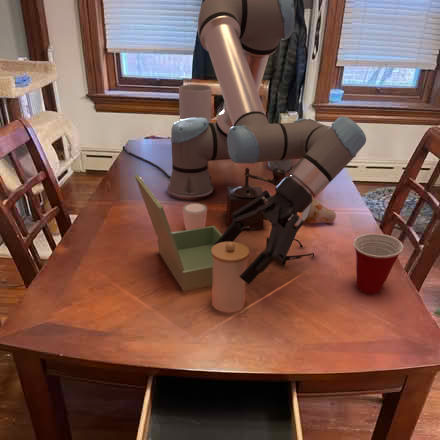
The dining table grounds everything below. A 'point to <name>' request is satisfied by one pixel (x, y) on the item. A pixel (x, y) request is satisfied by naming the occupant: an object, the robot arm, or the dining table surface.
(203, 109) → the cylinder vase
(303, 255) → the sunglasses
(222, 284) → the canister
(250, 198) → the brown manual coffee grinder
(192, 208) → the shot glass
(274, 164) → the grey pot
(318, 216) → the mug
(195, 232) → the box
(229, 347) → the dining table surface
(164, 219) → the box lid
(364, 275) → the plastic cup
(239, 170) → the dining table surface
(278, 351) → the dining table surface
